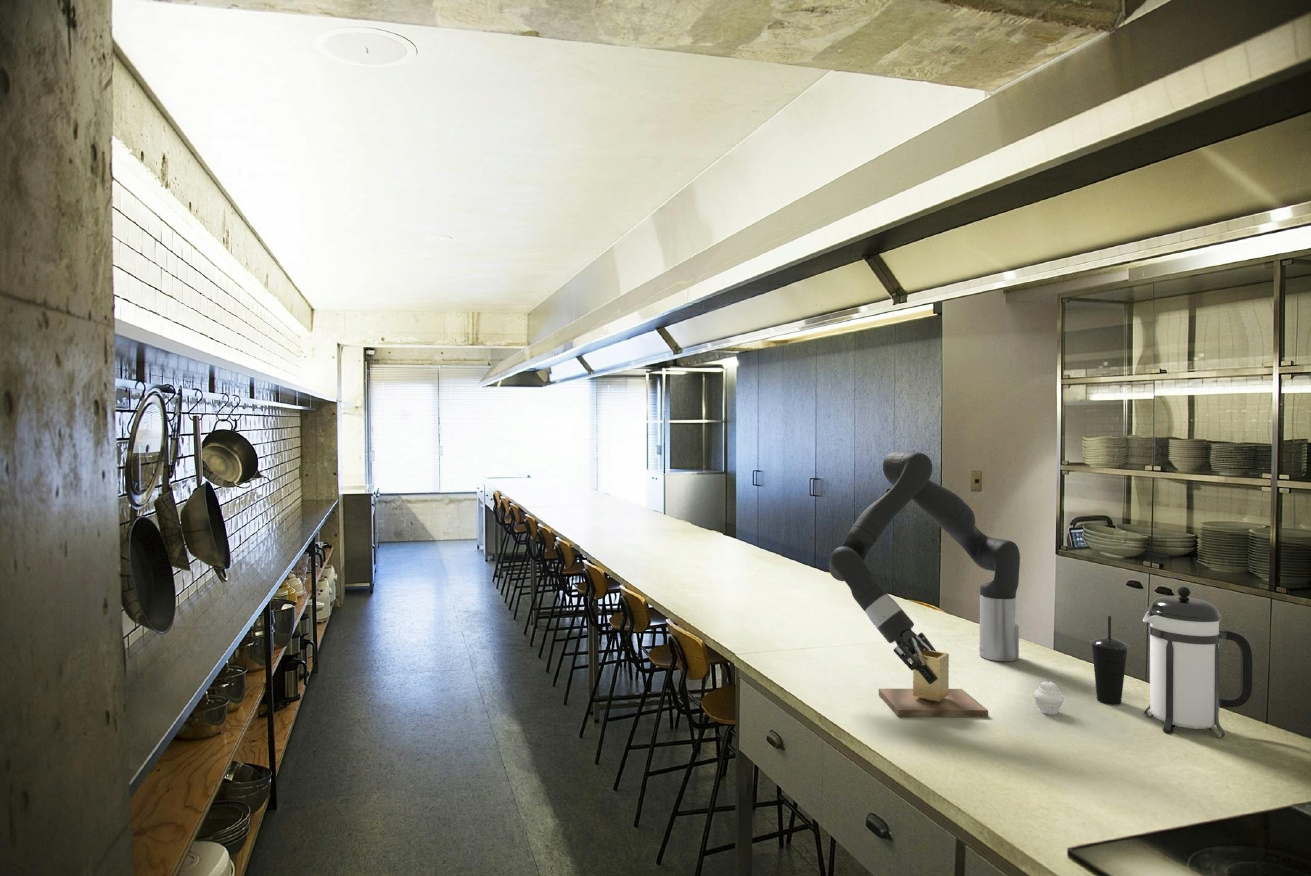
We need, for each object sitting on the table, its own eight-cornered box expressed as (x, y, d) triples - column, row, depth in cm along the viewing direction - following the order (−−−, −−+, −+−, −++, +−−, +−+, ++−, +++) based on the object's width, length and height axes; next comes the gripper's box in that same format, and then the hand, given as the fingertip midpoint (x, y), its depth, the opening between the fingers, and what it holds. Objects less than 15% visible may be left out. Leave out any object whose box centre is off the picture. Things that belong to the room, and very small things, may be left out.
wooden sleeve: (922, 688, 176) (922, 648, 176) (948, 694, 172) (948, 653, 172) (913, 695, 171) (913, 654, 171) (939, 701, 168) (939, 659, 168)
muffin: (1026, 709, 170) (1027, 678, 170) (1046, 705, 172) (1046, 675, 172) (1050, 718, 164) (1051, 687, 164) (1070, 714, 166) (1070, 683, 166)
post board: (961, 694, 179) (961, 666, 179) (988, 716, 165) (988, 686, 165) (878, 694, 179) (878, 666, 179) (897, 716, 165) (898, 685, 165)
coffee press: (1208, 747, 149) (1209, 597, 149) (1126, 720, 163) (1127, 583, 163) (1253, 732, 157) (1254, 589, 157) (1171, 707, 171) (1172, 577, 171)
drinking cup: (1123, 697, 177) (1123, 613, 177) (1132, 708, 170) (1132, 621, 170) (1086, 694, 180) (1087, 611, 180) (1094, 704, 173) (1094, 618, 173)
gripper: (887, 614, 171) (939, 676, 163) (911, 603, 182) (961, 661, 175) (865, 633, 174) (915, 695, 167) (889, 621, 185) (938, 679, 178)
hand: (938, 678), depth 171 cm, fingers closed on wooden sleeve, 6 cm apart
